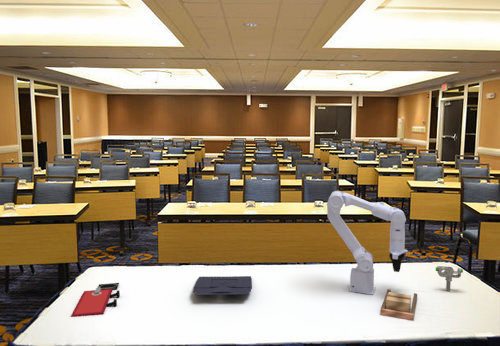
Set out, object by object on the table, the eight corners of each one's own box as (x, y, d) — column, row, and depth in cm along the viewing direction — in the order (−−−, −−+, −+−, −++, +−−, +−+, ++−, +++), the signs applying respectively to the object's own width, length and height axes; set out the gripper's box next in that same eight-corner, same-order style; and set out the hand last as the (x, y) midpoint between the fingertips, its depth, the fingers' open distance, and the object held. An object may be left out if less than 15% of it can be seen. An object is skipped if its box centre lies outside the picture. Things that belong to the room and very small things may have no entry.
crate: (385, 312, 156) (386, 298, 155) (388, 304, 163) (388, 290, 162) (409, 316, 152) (409, 302, 152) (410, 308, 160) (411, 294, 159)
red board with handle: (123, 284, 186) (88, 287, 183) (123, 278, 185) (87, 281, 183) (114, 315, 156) (71, 319, 154) (113, 308, 156) (70, 311, 153)
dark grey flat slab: (190, 301, 164) (190, 292, 164) (198, 282, 194) (198, 274, 194) (252, 301, 164) (252, 291, 164) (251, 282, 194) (251, 274, 194)
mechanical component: (462, 292, 174) (463, 269, 173) (435, 291, 176) (436, 267, 175) (460, 290, 177) (461, 267, 176) (434, 288, 179) (435, 265, 178)
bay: (380, 314, 155) (380, 309, 154) (387, 293, 174) (387, 289, 173) (413, 320, 150) (413, 315, 150) (417, 298, 169) (417, 293, 169)
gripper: (406, 244, 164) (405, 278, 165) (409, 235, 177) (408, 267, 178) (387, 242, 166) (386, 276, 168) (391, 234, 180) (390, 265, 181)
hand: (396, 271), depth 173 cm, fingers closed
